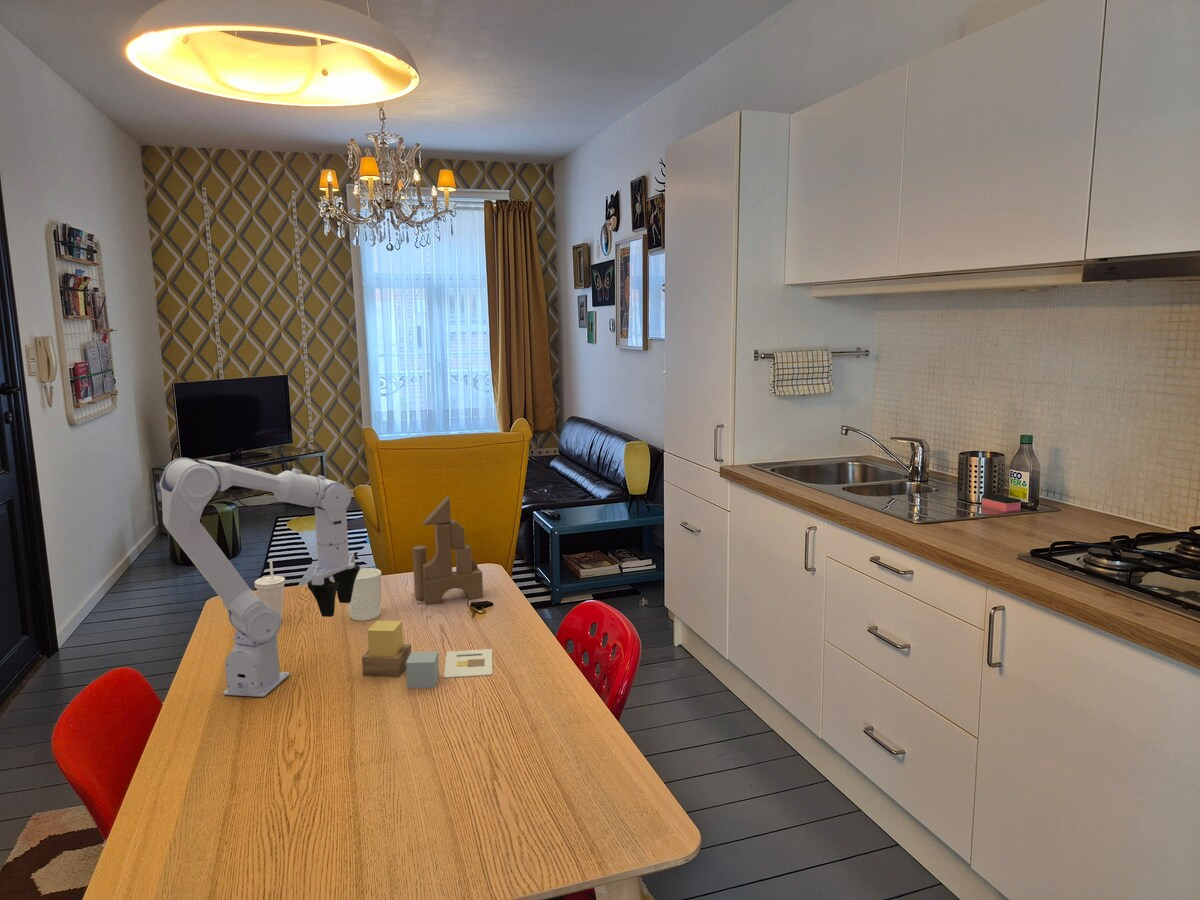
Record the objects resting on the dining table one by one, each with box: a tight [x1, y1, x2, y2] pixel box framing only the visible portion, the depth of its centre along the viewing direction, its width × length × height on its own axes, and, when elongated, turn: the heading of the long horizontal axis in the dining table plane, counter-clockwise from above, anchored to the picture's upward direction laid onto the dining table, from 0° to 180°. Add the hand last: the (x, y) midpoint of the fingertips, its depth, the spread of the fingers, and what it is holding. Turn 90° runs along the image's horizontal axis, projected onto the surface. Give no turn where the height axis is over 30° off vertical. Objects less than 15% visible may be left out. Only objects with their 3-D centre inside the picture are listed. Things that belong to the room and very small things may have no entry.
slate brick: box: [405, 650, 440, 690], centre depth 151 cm, size 5×5×5 cm
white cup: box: [347, 567, 382, 622], centre depth 186 cm, size 8×8×10 cm
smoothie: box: [254, 560, 286, 621], centre depth 182 cm, size 6×6×14 cm
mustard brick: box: [366, 620, 404, 656], centre depth 157 cm, size 5×5×5 cm
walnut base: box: [361, 643, 412, 679], centre depth 157 cm, size 7×7×4 cm
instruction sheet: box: [443, 648, 493, 679], centre depth 160 cm, size 12×9×1 cm
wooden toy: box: [412, 495, 484, 606], centre depth 196 cm, size 16×7×25 cm, turn 111°
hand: (336, 609), depth 161 cm, fingers open, 7 cm apart
